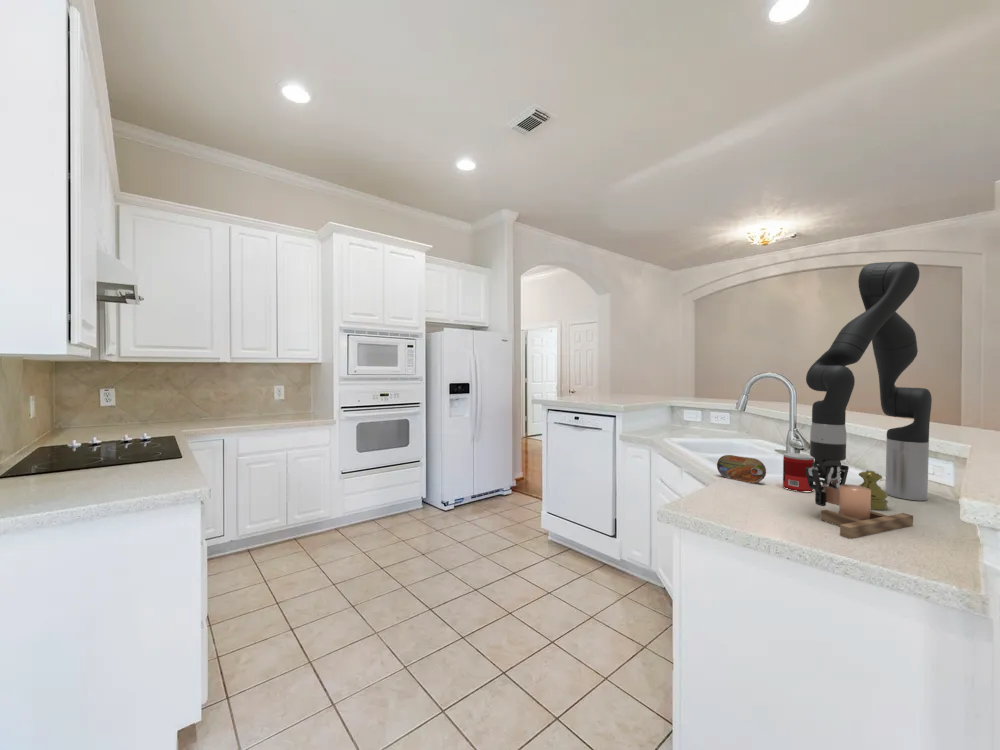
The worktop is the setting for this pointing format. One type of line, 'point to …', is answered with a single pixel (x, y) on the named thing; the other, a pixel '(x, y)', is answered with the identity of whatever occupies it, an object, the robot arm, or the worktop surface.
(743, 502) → the worktop surface
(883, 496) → the brass doorknob
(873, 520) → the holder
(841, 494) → the tan paddle shape
